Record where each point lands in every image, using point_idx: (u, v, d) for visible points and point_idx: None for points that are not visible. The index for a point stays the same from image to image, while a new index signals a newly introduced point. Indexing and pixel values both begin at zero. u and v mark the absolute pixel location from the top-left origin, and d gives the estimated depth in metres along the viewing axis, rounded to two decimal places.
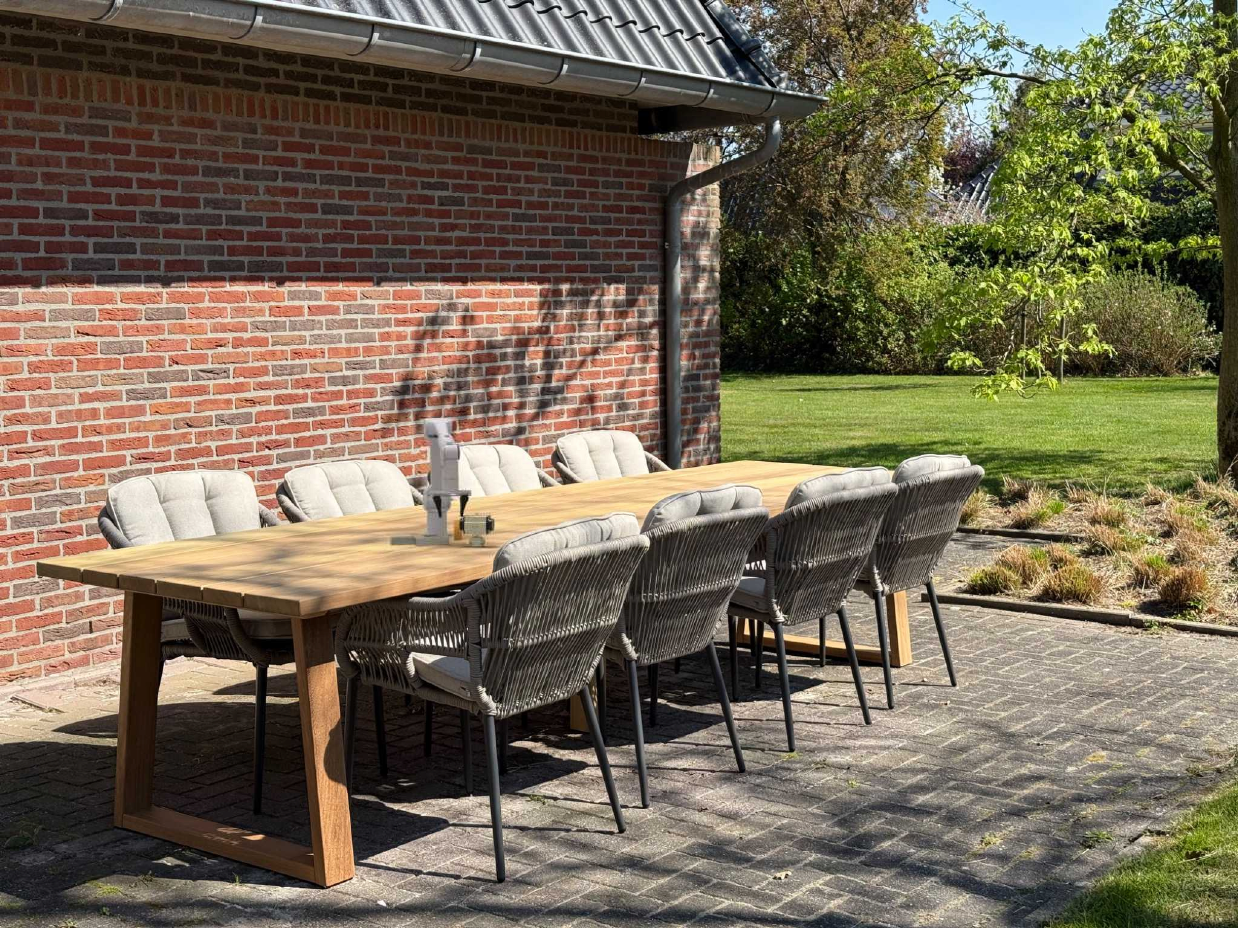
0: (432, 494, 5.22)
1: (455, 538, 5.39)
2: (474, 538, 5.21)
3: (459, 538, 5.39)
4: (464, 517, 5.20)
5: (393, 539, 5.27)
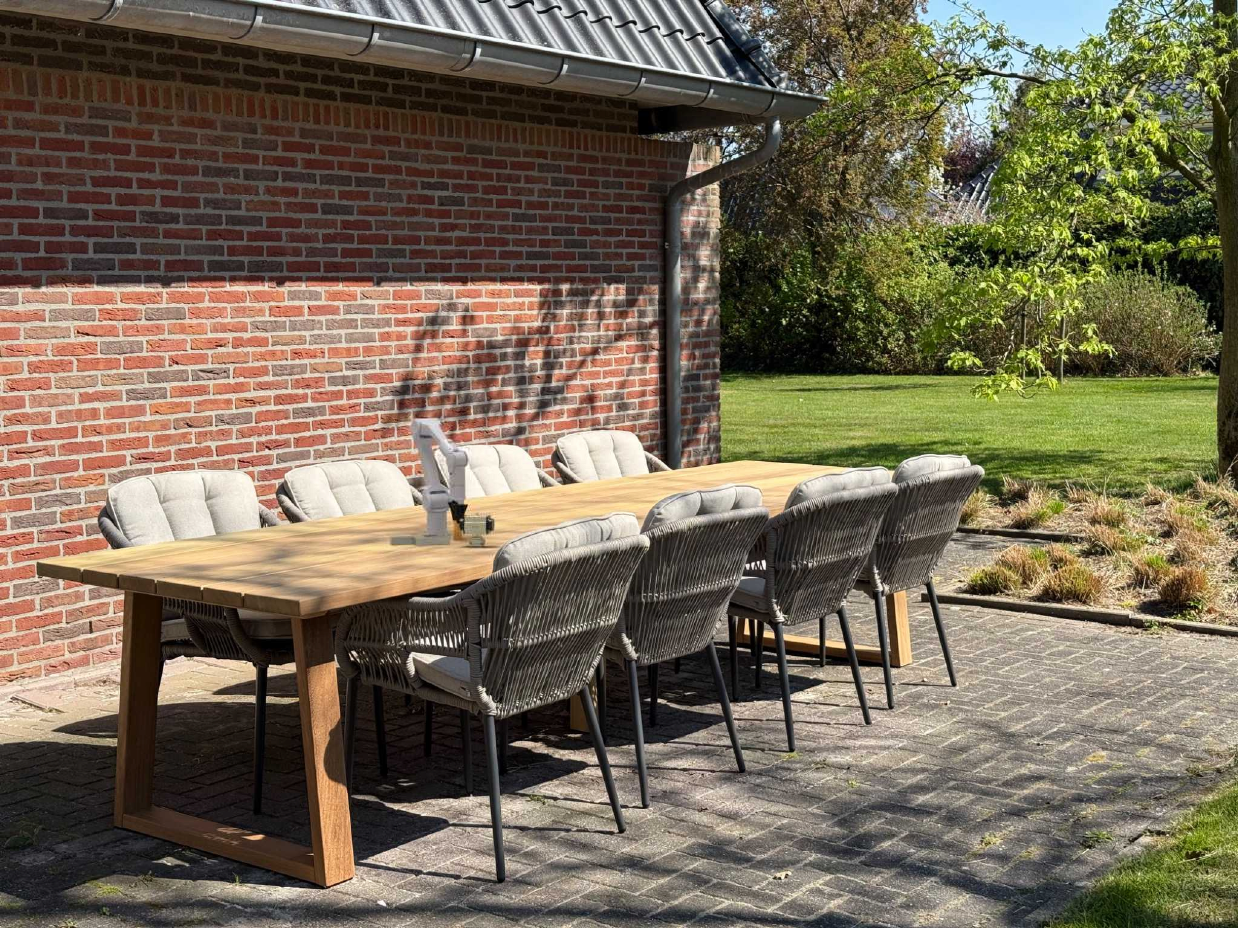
0: None
1: (455, 538, 5.39)
2: (474, 538, 5.21)
3: (459, 538, 5.39)
4: (464, 517, 5.20)
5: (393, 539, 5.27)
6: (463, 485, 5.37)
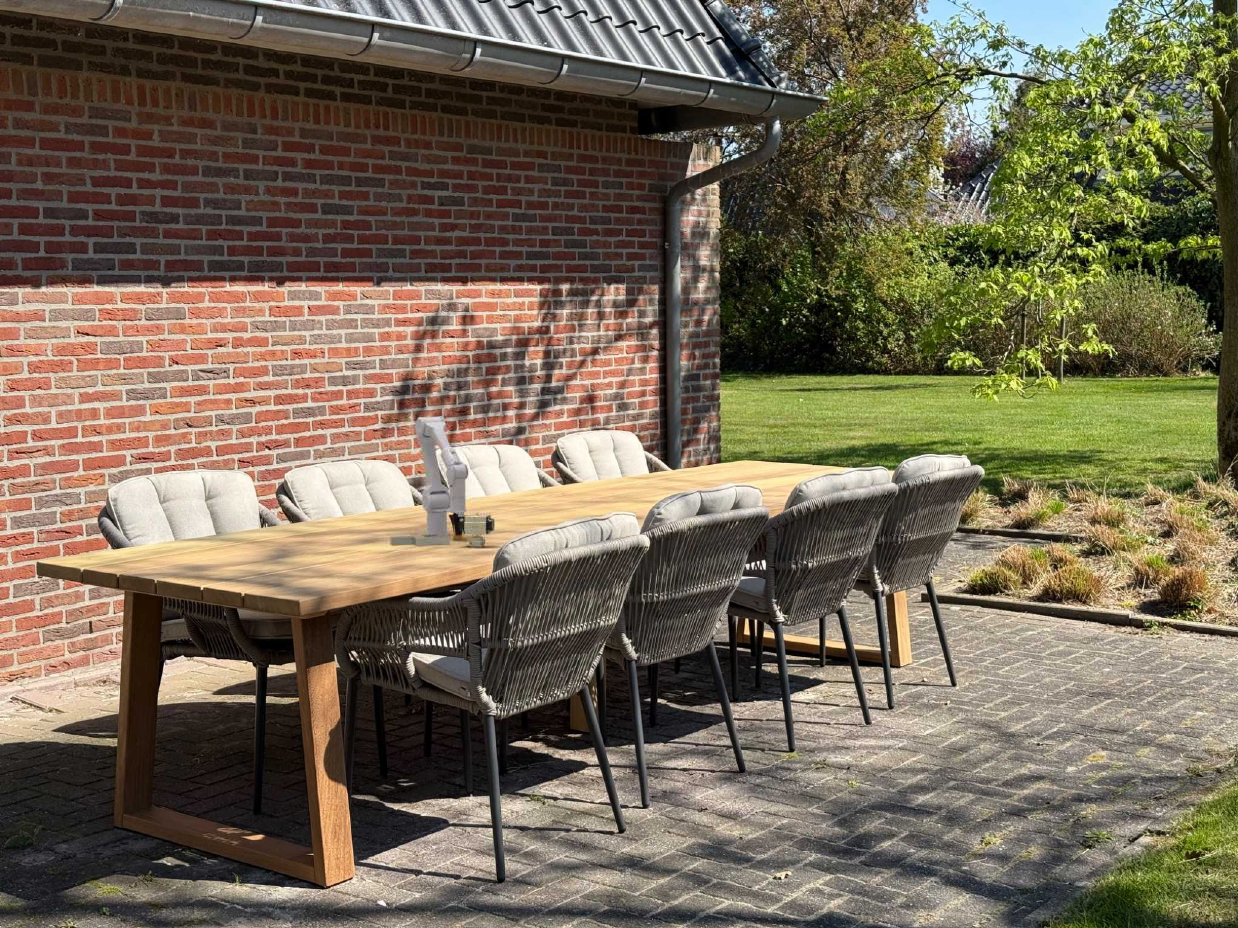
0: None
1: (455, 538, 5.39)
2: (474, 538, 5.21)
3: (459, 538, 5.39)
4: (464, 517, 5.20)
5: (393, 539, 5.27)
6: (463, 497, 5.37)
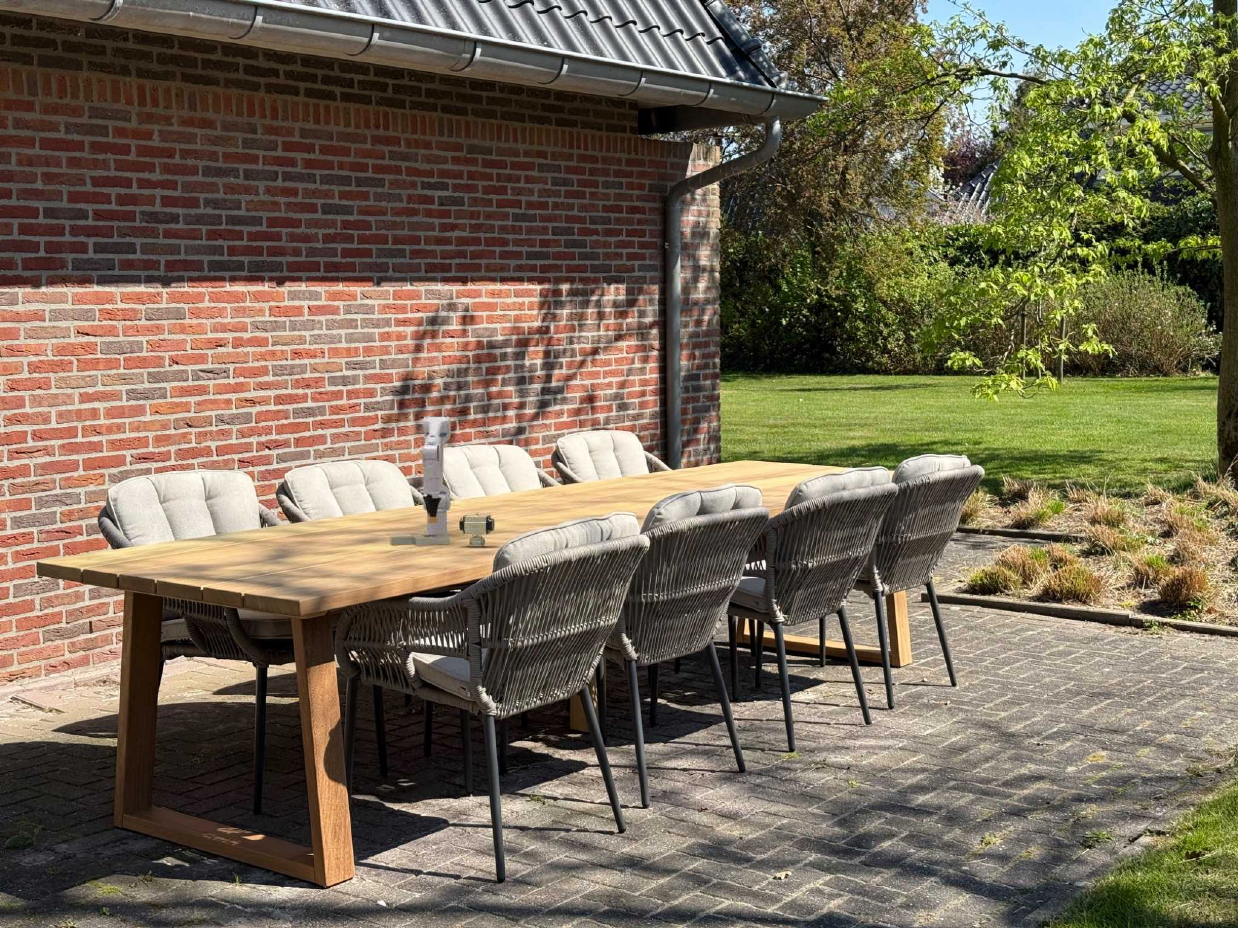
0: None
1: (430, 520, 5.31)
2: (474, 538, 5.21)
3: (434, 521, 5.32)
4: (464, 517, 5.20)
5: (393, 539, 5.27)
6: (437, 479, 5.30)
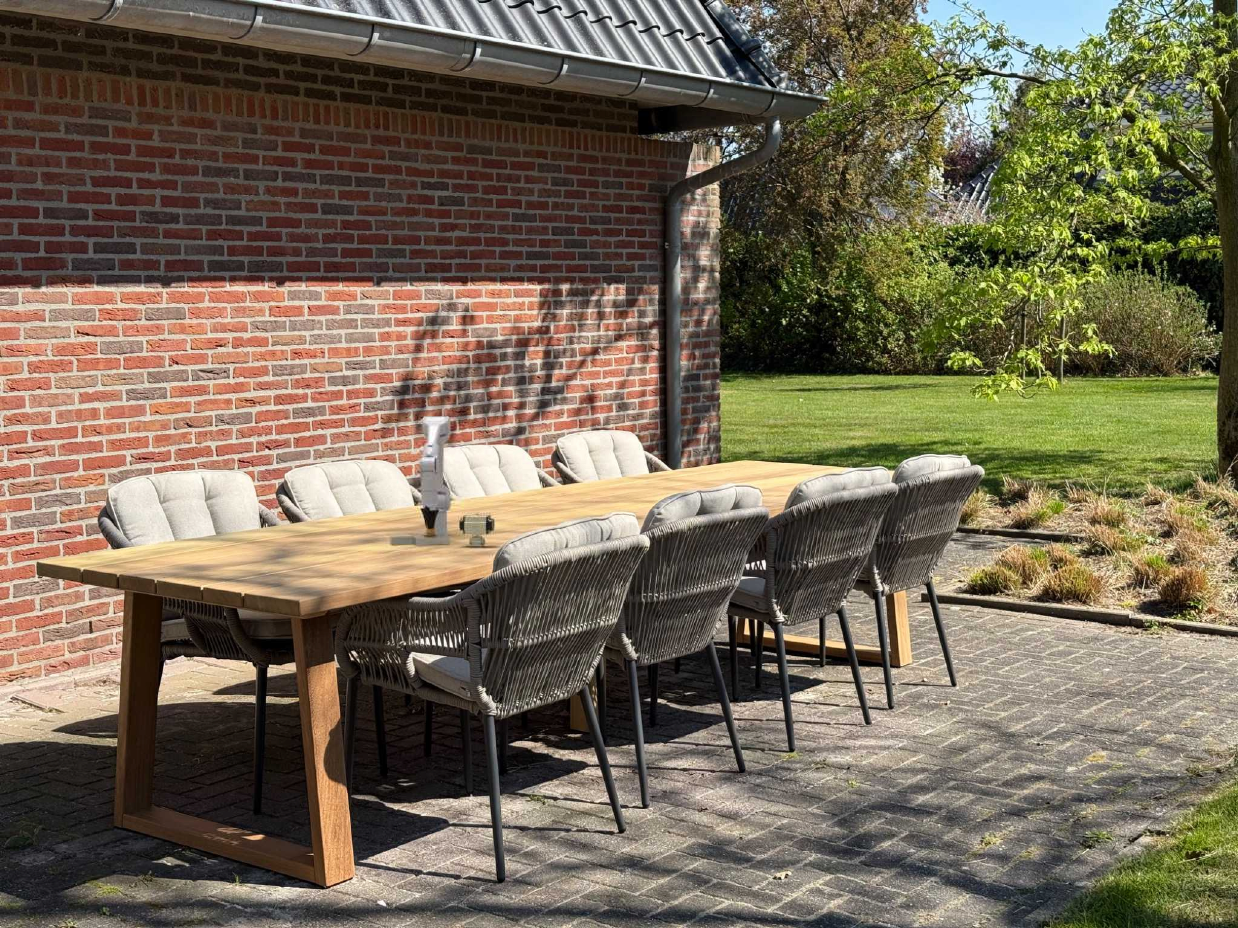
0: None
1: (428, 532, 5.31)
2: (474, 538, 5.21)
3: (432, 533, 5.31)
4: (464, 517, 5.20)
5: (393, 539, 5.27)
6: (435, 491, 5.30)
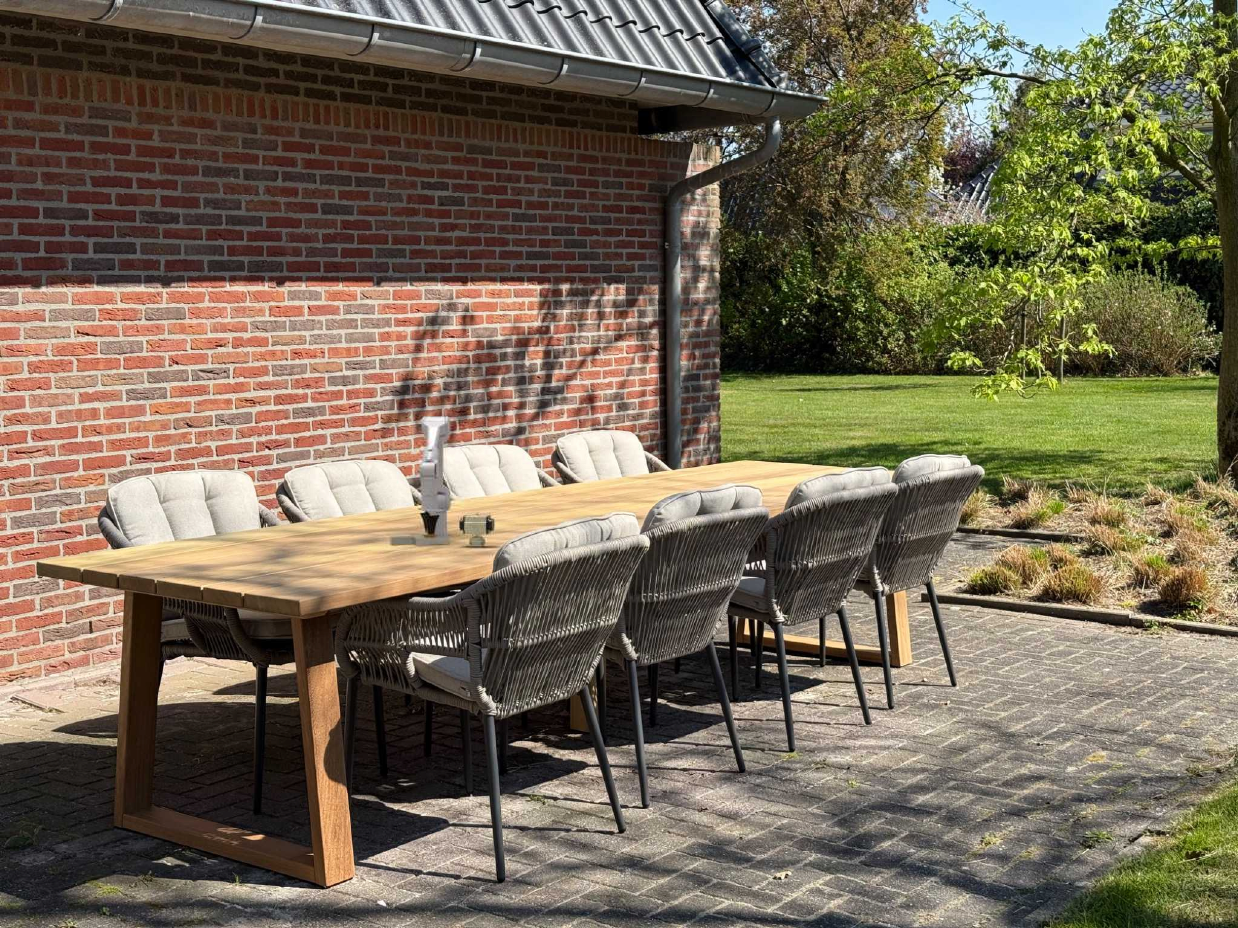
0: None
1: None
2: (474, 538, 5.21)
3: None
4: (464, 517, 5.20)
5: (393, 539, 5.27)
6: (435, 496, 5.30)
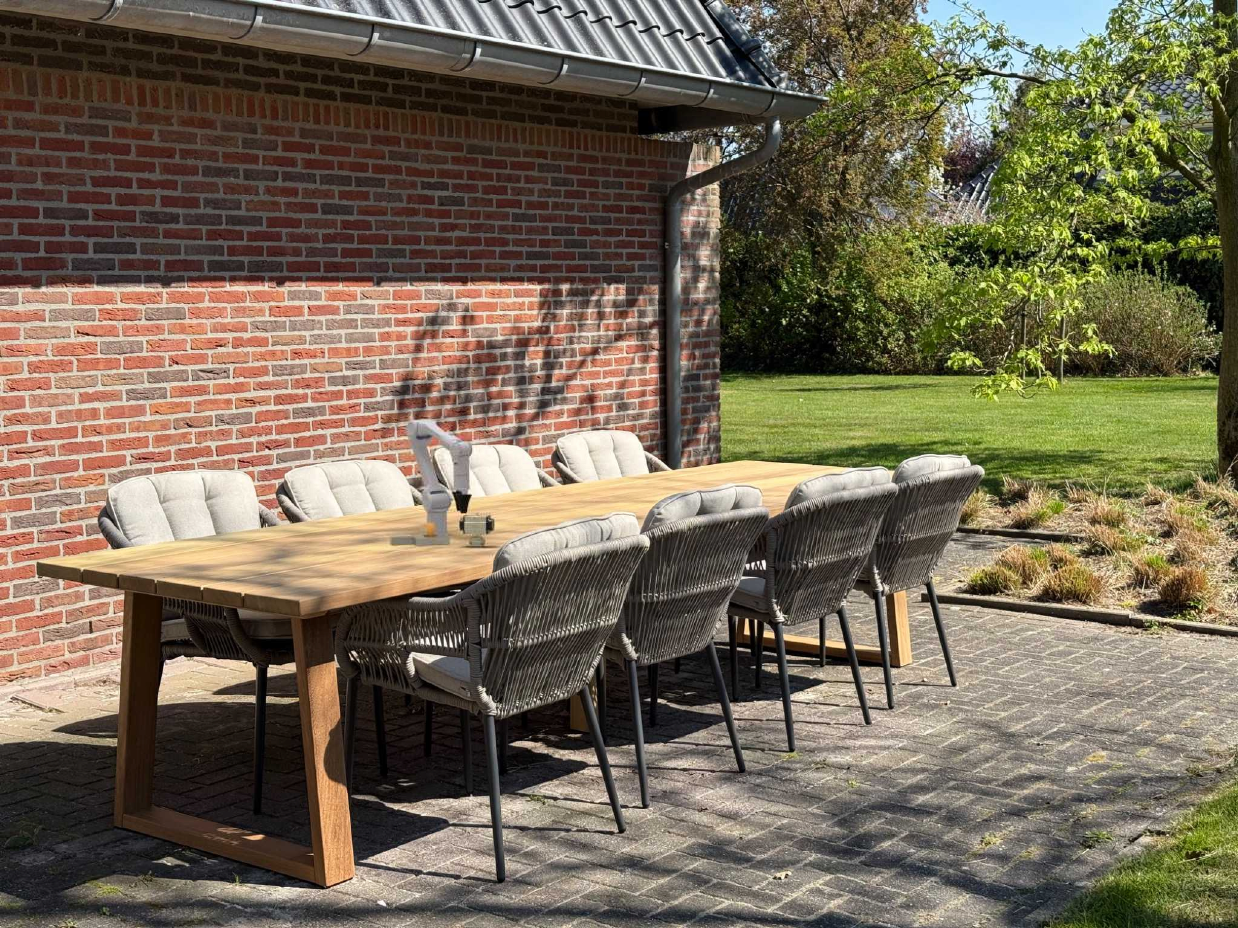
0: None
1: None
2: (474, 538, 5.21)
3: None
4: (464, 517, 5.20)
5: (393, 539, 5.27)
6: (467, 475, 5.38)
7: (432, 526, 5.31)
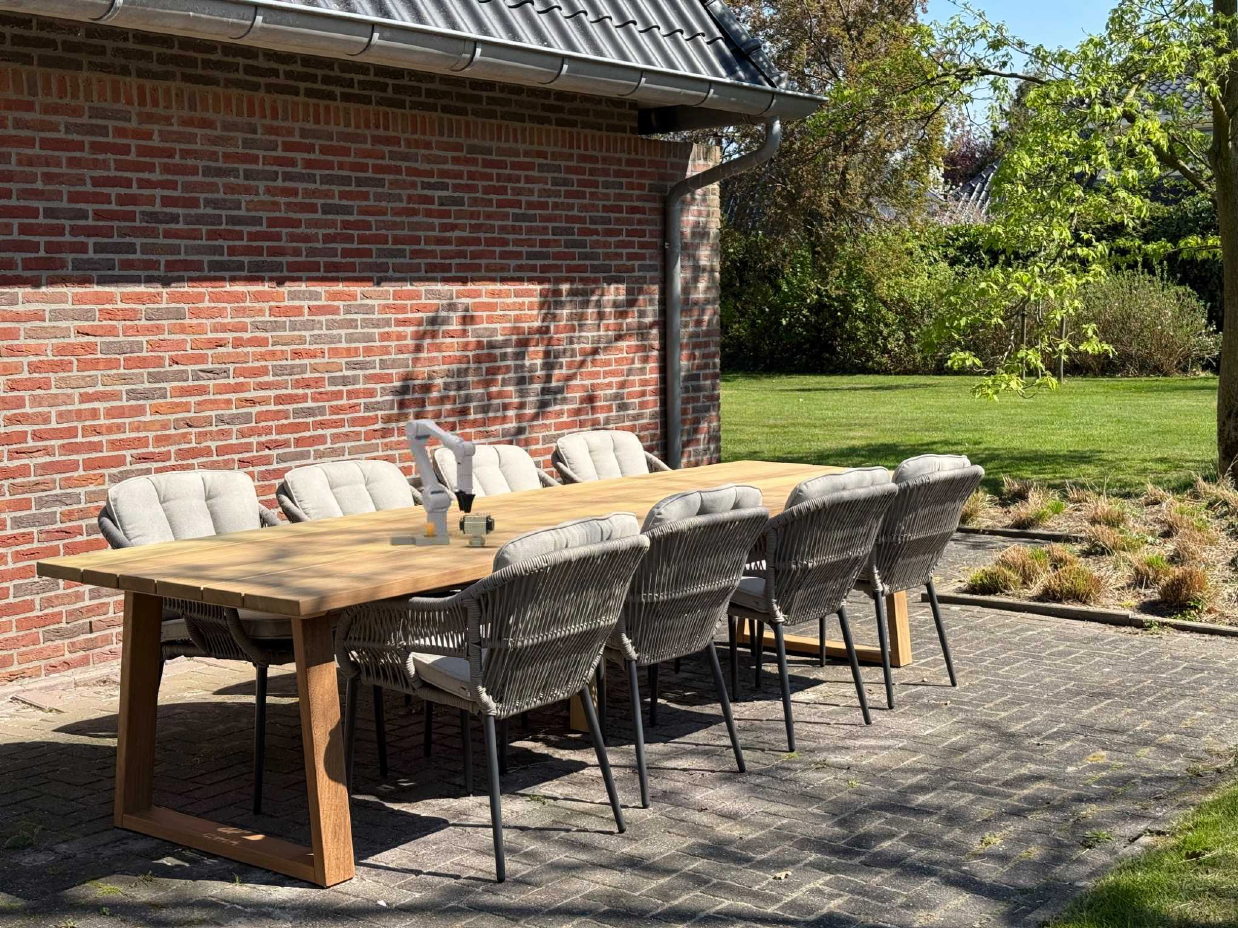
0: None
1: None
2: (474, 538, 5.21)
3: None
4: (464, 517, 5.20)
5: (393, 539, 5.27)
6: (470, 475, 5.39)
7: (432, 526, 5.31)
